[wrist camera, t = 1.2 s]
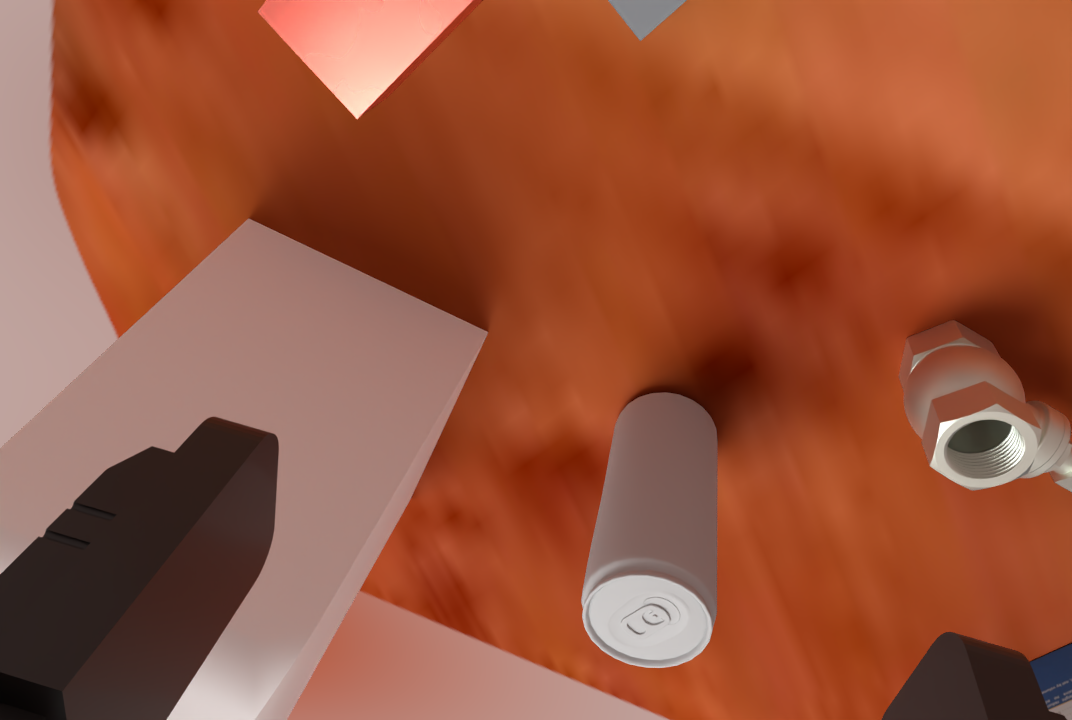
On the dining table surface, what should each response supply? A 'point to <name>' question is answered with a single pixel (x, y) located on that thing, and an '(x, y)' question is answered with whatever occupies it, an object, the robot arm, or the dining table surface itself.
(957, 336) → the valve
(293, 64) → the dining table surface
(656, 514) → the beverage can
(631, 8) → the pipe manifold
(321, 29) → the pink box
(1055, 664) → the protein box
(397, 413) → the milk
